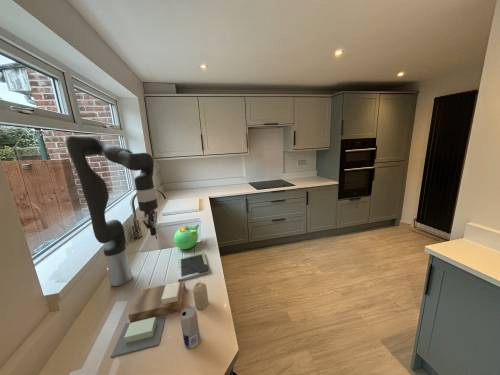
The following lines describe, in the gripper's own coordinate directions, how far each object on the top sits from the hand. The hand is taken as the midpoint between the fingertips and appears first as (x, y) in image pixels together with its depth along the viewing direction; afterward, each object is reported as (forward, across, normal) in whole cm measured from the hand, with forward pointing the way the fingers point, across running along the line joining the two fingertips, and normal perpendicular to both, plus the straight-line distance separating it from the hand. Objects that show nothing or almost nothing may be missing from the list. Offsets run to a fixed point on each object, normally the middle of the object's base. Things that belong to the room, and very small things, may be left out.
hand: (153, 234), depth 91 cm
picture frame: (+29, -14, +13) cm, 35 cm away
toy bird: (+29, -39, +8) cm, 49 cm away
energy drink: (+28, +32, +16) cm, 46 cm away
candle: (+28, +16, +19) cm, 38 cm away
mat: (+28, +24, -3) cm, 37 cm away
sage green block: (+25, +24, -3) cm, 35 cm away
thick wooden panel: (+28, +11, +1) cm, 30 cm away
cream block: (+24, +12, +6) cm, 28 cm away
